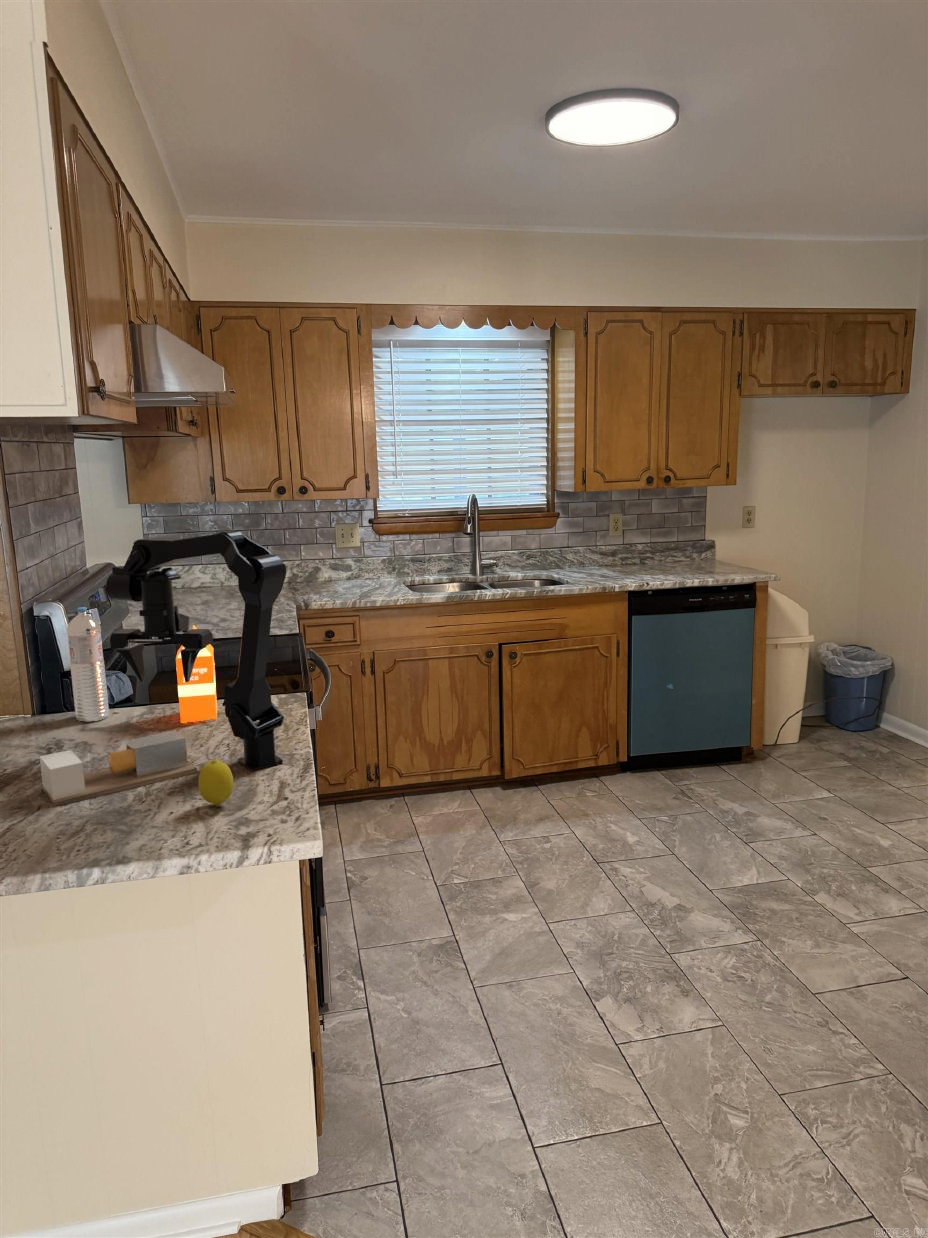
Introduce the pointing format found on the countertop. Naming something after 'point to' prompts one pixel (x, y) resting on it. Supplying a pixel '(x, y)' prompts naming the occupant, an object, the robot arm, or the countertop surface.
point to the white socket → (62, 774)
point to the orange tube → (122, 760)
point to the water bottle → (87, 668)
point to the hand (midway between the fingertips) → (165, 681)
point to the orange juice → (197, 687)
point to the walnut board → (119, 782)
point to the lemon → (215, 782)
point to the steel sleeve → (158, 753)
